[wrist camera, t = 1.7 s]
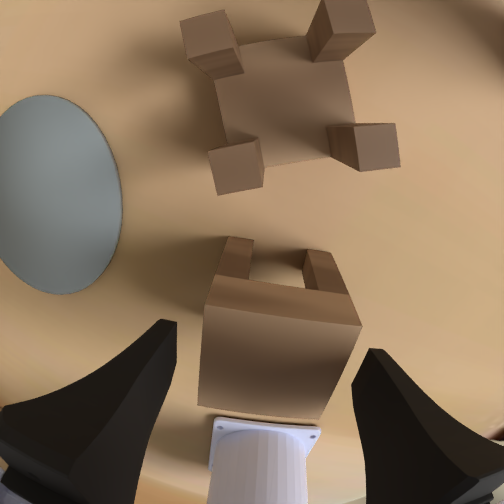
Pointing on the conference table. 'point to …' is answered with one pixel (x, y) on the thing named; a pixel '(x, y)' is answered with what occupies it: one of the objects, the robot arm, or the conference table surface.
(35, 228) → the mat
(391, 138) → the upturned twin stool
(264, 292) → the stool
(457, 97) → the conference table surface
